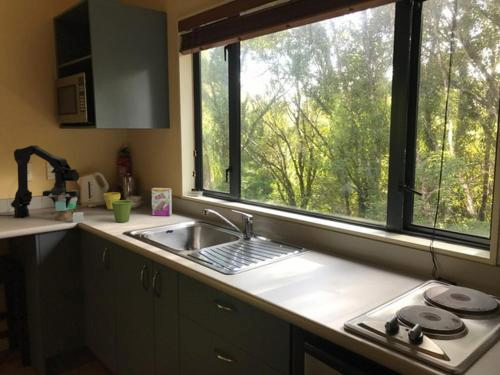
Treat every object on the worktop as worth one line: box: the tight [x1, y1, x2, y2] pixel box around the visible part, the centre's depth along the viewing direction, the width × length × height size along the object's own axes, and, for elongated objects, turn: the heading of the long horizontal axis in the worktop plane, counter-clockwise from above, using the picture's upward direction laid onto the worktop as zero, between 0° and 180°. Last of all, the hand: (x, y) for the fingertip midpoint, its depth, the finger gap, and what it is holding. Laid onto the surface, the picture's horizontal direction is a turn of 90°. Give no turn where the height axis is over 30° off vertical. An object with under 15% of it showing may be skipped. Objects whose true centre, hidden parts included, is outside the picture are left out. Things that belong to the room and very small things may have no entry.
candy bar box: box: [150, 187, 173, 217], centre depth 254 cm, size 11×5×16 cm, turn 84°
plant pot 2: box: [111, 199, 134, 223], centre depth 237 cm, size 12×12×11 cm
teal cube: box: [54, 201, 68, 212], centre depth 240 cm, size 5×5×5 cm
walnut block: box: [52, 211, 73, 222], centre depth 241 cm, size 7×7×4 cm
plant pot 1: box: [103, 192, 121, 210], centre depth 276 cm, size 10×10×10 cm
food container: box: [58, 196, 78, 215], centre depth 256 cm, size 12×6×10 cm, turn 143°
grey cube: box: [72, 211, 85, 224], centre depth 235 cm, size 5×5×5 cm
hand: (62, 208), depth 240 cm, fingers closed on teal cube, 5 cm apart
